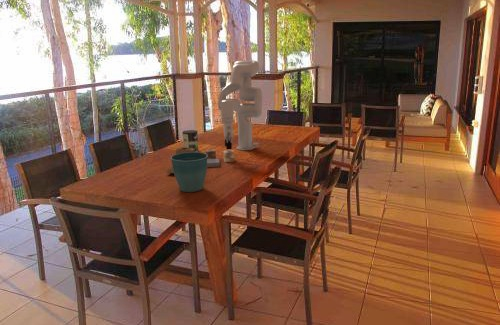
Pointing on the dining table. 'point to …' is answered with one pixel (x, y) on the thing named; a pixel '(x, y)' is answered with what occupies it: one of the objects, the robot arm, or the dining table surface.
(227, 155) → the oak cube
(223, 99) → the robot arm
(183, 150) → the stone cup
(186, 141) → the coffee can
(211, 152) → the walnut cube
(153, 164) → the dining table surface
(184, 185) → the flower pot
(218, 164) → the slate trivet
